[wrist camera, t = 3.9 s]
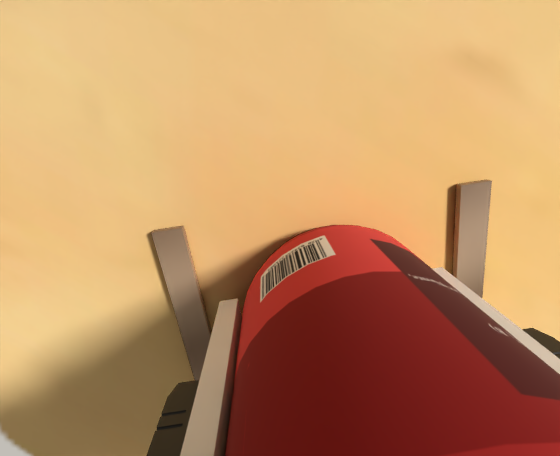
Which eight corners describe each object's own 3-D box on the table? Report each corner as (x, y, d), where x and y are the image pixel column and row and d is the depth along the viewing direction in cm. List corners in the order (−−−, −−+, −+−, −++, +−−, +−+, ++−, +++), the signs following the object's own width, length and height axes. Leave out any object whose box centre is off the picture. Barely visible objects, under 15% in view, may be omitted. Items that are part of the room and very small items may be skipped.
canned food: (226, 358, 14) (122, 1001, 4) (270, 196, 12) (311, 694, 1) (377, 386, 15) (629, 956, 5) (444, 241, 13) (1227, 729, 2)
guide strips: (152, 230, 12) (149, 233, 12) (487, 179, 12) (493, 180, 12) (261, 601, 21) (261, 609, 20) (457, 570, 21) (460, 578, 20)
